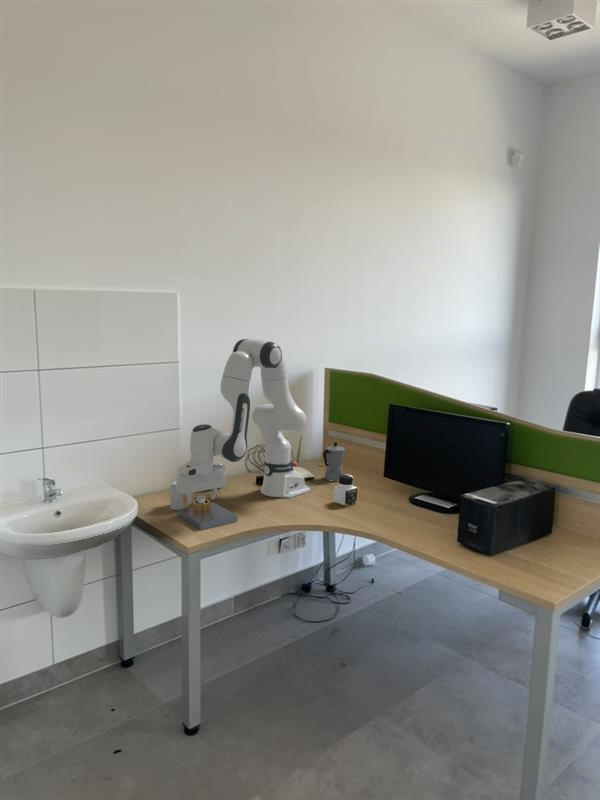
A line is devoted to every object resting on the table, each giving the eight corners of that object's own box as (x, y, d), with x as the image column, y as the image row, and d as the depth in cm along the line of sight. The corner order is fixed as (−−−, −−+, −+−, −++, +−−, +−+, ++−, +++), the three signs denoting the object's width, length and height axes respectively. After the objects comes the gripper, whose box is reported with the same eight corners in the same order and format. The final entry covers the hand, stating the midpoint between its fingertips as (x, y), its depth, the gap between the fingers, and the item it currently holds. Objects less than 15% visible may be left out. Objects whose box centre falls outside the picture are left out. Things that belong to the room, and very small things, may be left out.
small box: (183, 510, 241) (183, 485, 239) (170, 509, 242) (170, 484, 240) (190, 504, 249) (191, 479, 247) (178, 503, 250) (178, 478, 248)
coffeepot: (335, 474, 300) (336, 438, 298) (350, 478, 294) (352, 442, 291) (314, 480, 289) (316, 443, 286) (330, 484, 283) (331, 447, 280)
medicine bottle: (345, 506, 253) (346, 478, 251) (333, 502, 258) (334, 474, 256) (356, 503, 257) (358, 476, 255) (344, 499, 263) (346, 472, 261)
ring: (204, 505, 241) (204, 497, 240) (213, 509, 236) (213, 502, 235) (189, 508, 237) (189, 500, 236) (198, 513, 232) (198, 505, 231)
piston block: (213, 508, 245) (213, 490, 244) (237, 521, 231) (237, 502, 230) (177, 515, 235) (177, 497, 234) (200, 530, 221) (200, 510, 220)
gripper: (220, 461, 243) (220, 494, 245) (174, 468, 230) (174, 503, 232) (229, 465, 238) (228, 498, 240) (182, 472, 225) (182, 508, 227)
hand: (201, 501), depth 236 cm, fingers open, 8 cm apart
